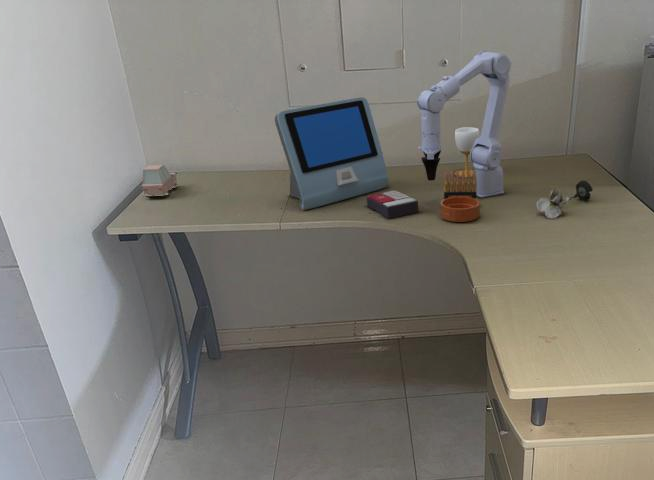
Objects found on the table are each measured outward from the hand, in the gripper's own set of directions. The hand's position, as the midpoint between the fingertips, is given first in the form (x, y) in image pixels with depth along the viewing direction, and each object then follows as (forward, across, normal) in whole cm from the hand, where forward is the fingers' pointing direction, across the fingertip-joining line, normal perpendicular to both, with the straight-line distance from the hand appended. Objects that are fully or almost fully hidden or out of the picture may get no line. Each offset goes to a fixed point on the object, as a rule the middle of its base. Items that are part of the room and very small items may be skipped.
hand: (431, 176), depth 202 cm
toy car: (+10, -17, -97) cm, 99 cm away
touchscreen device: (+10, -14, -34) cm, 38 cm away
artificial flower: (+10, +3, +42) cm, 44 cm away
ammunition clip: (+10, 0, +9) cm, 14 cm away
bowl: (+10, +10, +9) cm, 16 cm away
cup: (+10, -37, +11) cm, 40 cm away
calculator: (+10, +2, -13) cm, 16 cm away
